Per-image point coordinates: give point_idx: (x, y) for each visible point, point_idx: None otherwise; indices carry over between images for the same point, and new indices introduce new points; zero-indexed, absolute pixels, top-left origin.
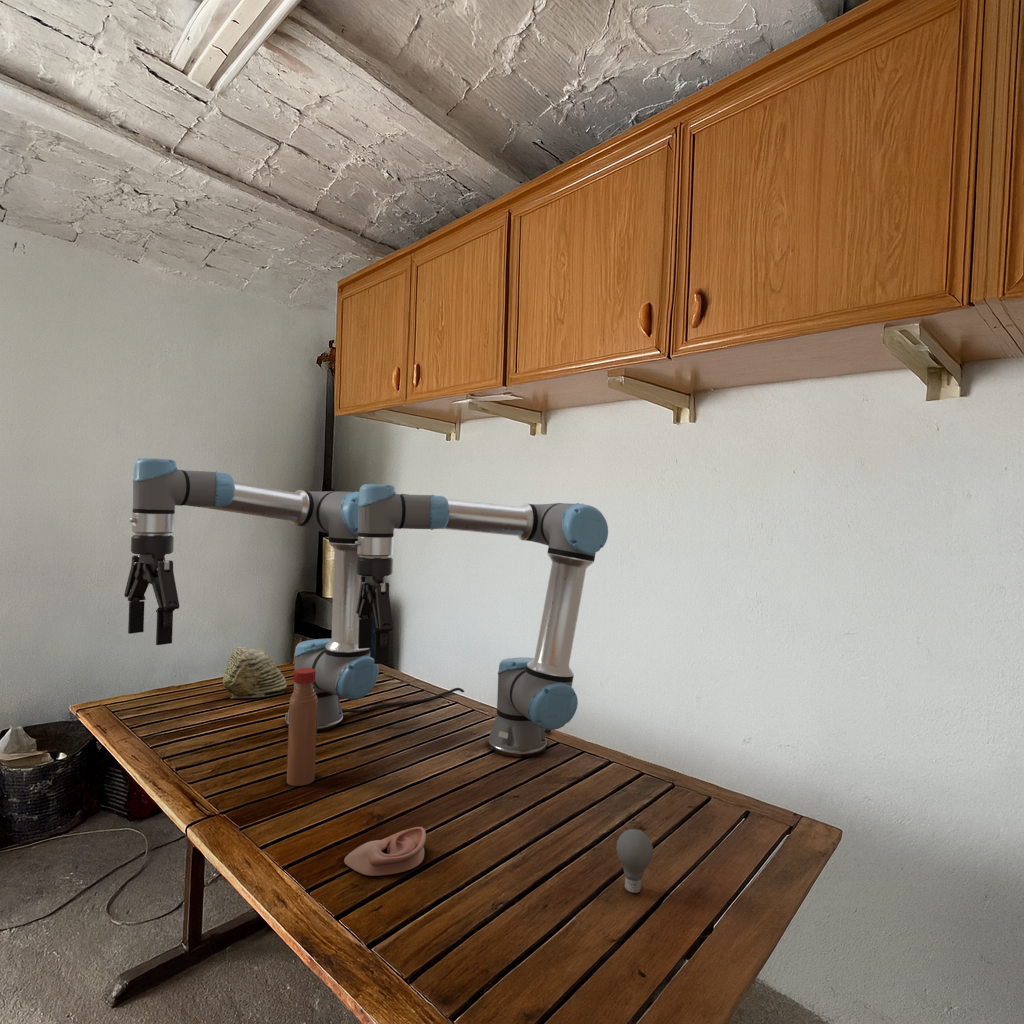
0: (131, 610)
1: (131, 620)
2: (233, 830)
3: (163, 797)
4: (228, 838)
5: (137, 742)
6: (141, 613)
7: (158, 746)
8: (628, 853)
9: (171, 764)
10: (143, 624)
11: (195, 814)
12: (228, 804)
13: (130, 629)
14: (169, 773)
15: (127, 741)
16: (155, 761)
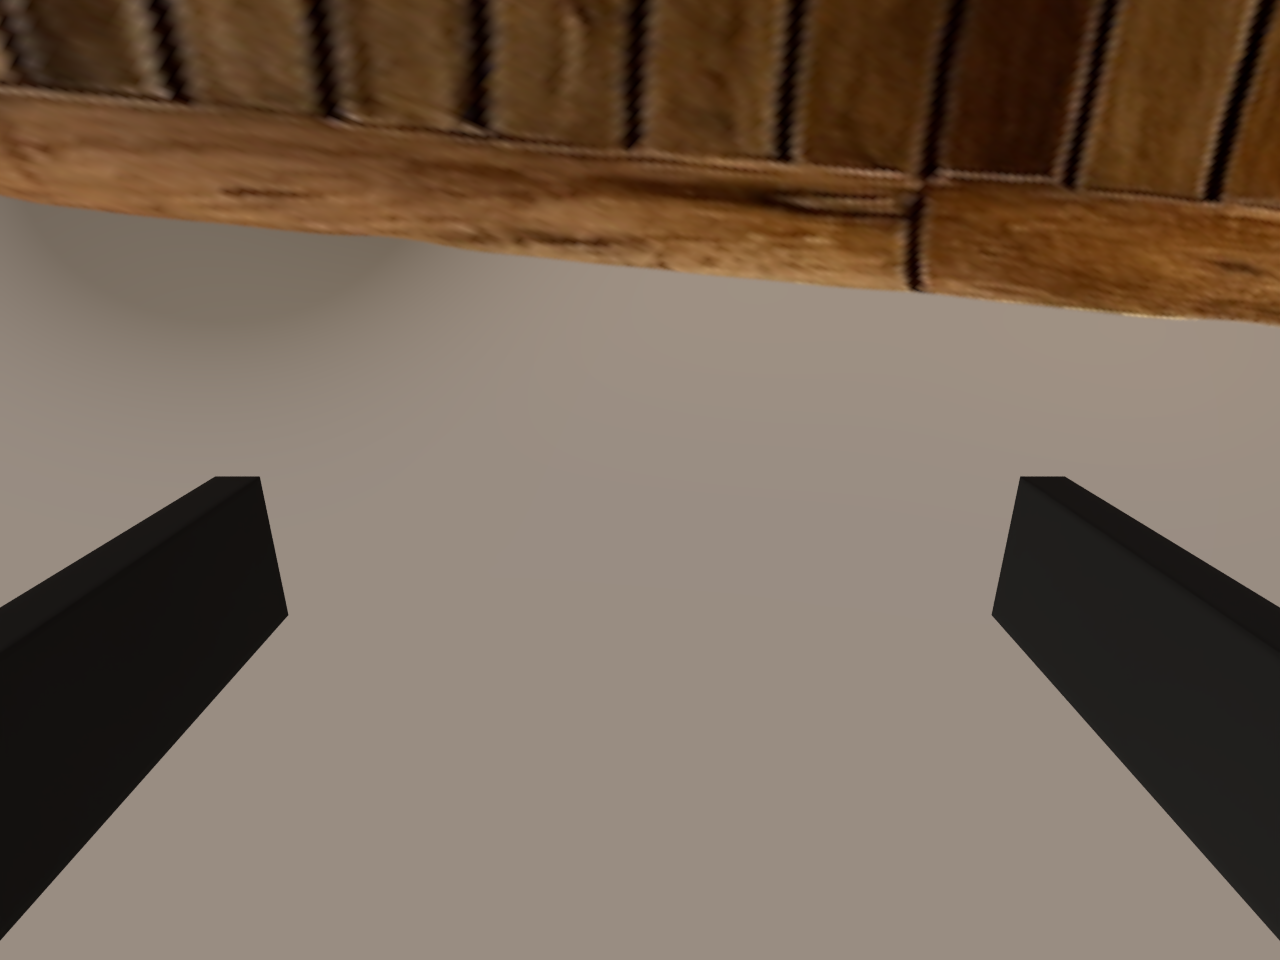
0: (87, 822)
1: (194, 699)
2: (1055, 205)
3: (676, 263)
4: (1081, 240)
5: (84, 119)
6: (89, 634)
7: (180, 69)
8: None
9: (413, 116)
10: (201, 516)
11: (867, 241)
12: (892, 124)
13: (263, 635)
14: (495, 161)
15: (50, 146)
16: (344, 151)
